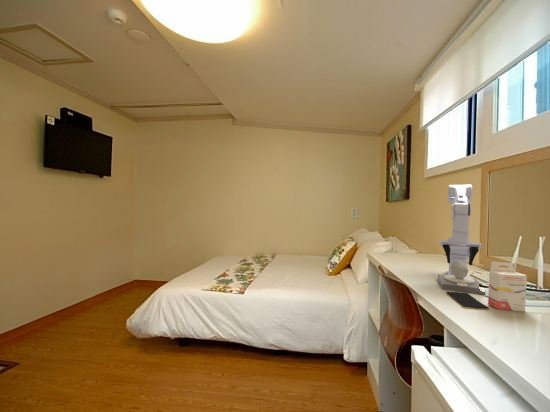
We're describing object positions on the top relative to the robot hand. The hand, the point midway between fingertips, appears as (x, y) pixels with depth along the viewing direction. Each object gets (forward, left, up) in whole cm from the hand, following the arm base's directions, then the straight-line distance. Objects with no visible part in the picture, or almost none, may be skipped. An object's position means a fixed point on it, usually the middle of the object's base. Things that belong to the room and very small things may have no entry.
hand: (459, 263), depth 116 cm
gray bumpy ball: (0, 0, -6) cm, 6 cm away
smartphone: (+22, -1, -10) cm, 24 cm away
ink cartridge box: (+23, +10, -9) cm, 27 cm away
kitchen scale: (+2, 0, -9) cm, 9 cm away
